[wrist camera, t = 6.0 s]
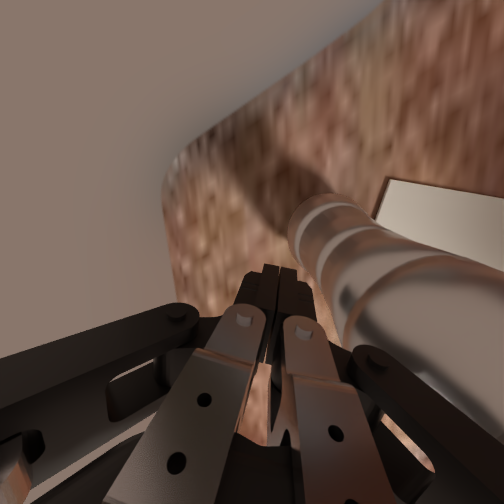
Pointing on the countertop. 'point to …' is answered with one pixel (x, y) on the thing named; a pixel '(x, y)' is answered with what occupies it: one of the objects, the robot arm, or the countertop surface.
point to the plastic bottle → (408, 302)
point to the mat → (446, 220)
